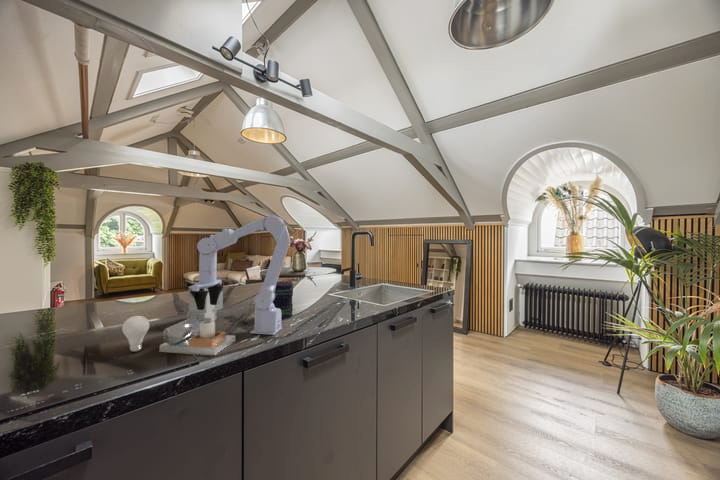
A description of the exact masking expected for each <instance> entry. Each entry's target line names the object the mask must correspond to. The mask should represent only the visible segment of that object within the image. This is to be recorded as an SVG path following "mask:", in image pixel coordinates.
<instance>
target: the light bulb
mask: <svg viewBox="0 0 720 480" xmlns="http://www.w3.org/2000/svg"><path fill="white" fill-rule="evenodd" d="M149 328H150V321H149V319H148V318H147V317H145V316H143V315H134V316H130V317H129V318H127V319H126V320H125V321H124V323H123V324H122V328H121V331H122V333H123V335H124V336H125V338H127V340H128V345H129V351H130V352H133V353H134V352H135V353H136V352H139V351H140V350H141V349H142V348H143V344H142V343H143V341H144V338H145V336H146V334H147V332H148V331H149Z"/></svg>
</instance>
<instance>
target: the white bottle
mask: <svg viewBox="0 0 720 480" xmlns="http://www.w3.org/2000/svg"><path fill="white" fill-rule="evenodd" d="M215 331H216V320H211V318H205V319H204V321H202V322H200V330H199V333H200V338H203V339H212V338H214V337H215Z"/></svg>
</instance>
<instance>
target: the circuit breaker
mask: <svg viewBox="0 0 720 480" xmlns="http://www.w3.org/2000/svg"><path fill="white" fill-rule="evenodd" d="M192 286H193V285H191V286H187V287H188V290H187V298H188V311H187V313H186V314H187V315H186V318H187V319H190V318H195V319H197V320H198V321H199V322H202V321H204V319H205V318H211V320H214V321H216V320H217V319H218V316H217V313H218V311H220V310H221V309H223V308H224V301H223V300H224V291H223V290H221V292H220V295H219V298H218V301H217V305H211V304H210V296H209V292H208V294H207V296H206V300H205V308H204V310H198V309H197V305H196V302H195V299H194V297H193V296H192V294H191V290H192ZM203 290H204V291H208V289H207V288H205V289H203ZM187 319H186V320H187Z"/></svg>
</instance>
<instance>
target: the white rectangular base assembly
mask: <svg viewBox="0 0 720 480" xmlns="http://www.w3.org/2000/svg"><path fill="white" fill-rule="evenodd" d="M189 318H190V317H189ZM162 339H163V341H164V343H161V344H160V345H159V346H158V347H159V350H158V351H159V353H170V354H171V353H173V354H187V355H199V354H200V356H201V355H203V356H213V355H215V356H216V355H218V354H219V353H221V352H222V351H223V349H224V348H225V349H227V348H228V347H229V346H231V345H232V344H234V343H235V342H236V339H237V337H236V335H232V334H231V335H229V334H227V331H216V330H215V337H214V338H212V339H203V338H200V322H199V321H198V320H197V319H195V318H190V319H185V320H182V321H179V322H178V323H175V324H173V325H170V326H168V327H166V328H165V329H164V330H163V332H162ZM233 342H234V343H233ZM227 346H228V347H227ZM226 347H227V348H226ZM225 349H224V350H225ZM221 350H222V351H221ZM220 351H221V352H220ZM218 352H219V353H218ZM217 353H218V354H217Z"/></svg>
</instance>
